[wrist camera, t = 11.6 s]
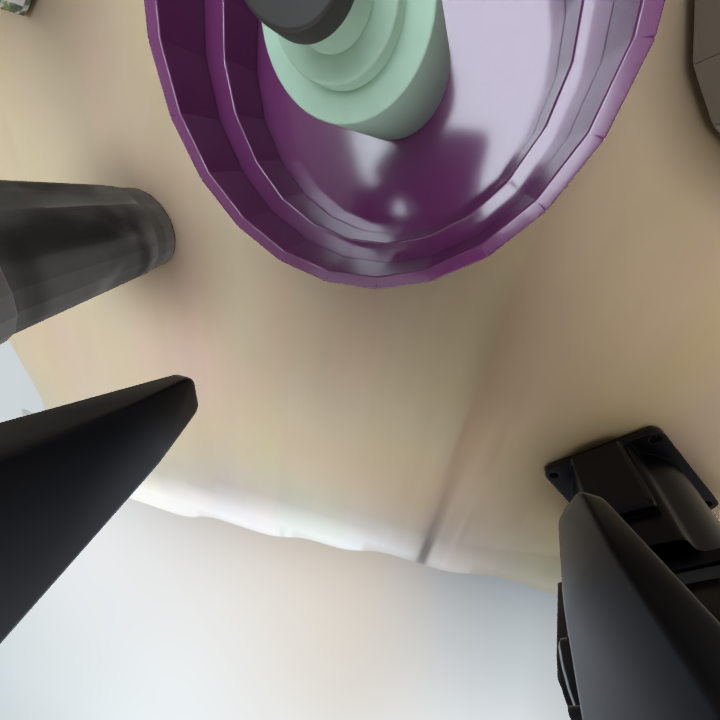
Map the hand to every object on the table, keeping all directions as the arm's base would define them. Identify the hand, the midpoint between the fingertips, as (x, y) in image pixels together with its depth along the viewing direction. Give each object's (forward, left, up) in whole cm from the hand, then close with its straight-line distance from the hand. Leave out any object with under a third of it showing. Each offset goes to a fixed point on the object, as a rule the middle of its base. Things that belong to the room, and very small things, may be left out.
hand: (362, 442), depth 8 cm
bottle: (+7, -5, -12) cm, 15 cm away
